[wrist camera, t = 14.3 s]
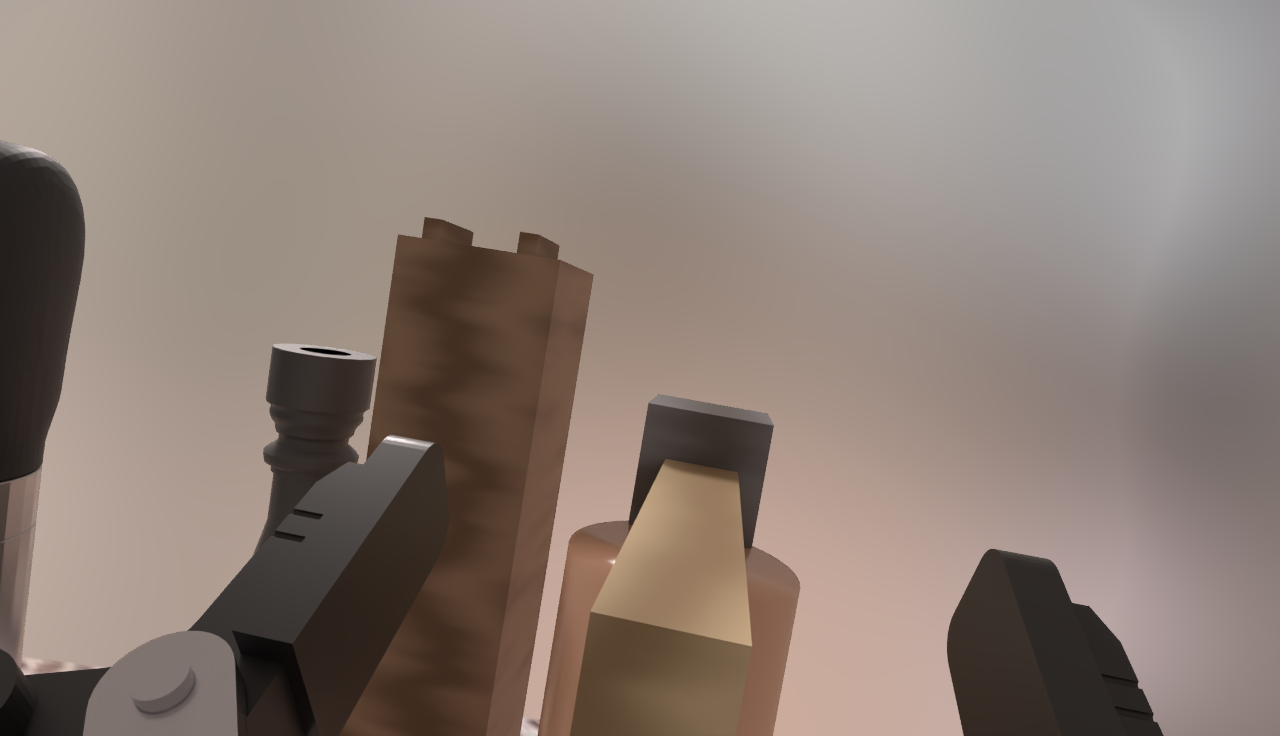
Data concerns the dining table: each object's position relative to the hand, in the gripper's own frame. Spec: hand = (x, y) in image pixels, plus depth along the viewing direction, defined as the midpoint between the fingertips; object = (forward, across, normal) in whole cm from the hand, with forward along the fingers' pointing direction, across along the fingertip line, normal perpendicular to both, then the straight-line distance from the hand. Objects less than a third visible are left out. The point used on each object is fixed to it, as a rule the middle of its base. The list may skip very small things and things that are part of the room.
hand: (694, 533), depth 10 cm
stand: (+9, +12, +36) cm, 39 cm away
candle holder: (+12, +23, +38) cm, 46 cm away
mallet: (+7, 0, +10) cm, 12 cm away
